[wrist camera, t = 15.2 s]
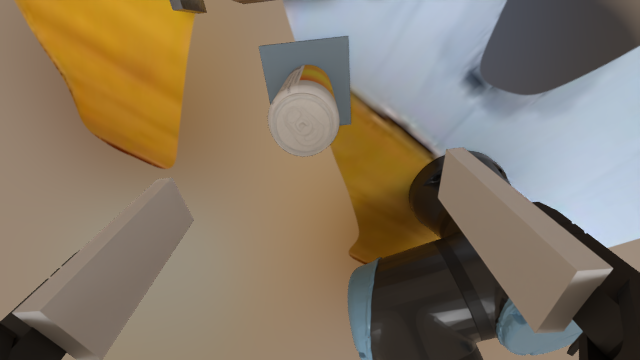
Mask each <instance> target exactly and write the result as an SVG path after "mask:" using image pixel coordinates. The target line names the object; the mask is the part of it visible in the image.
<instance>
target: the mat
mask: <svg viewBox="0 0 640 360" xmlns="http://www.w3.org/2000/svg"><path fill="white" fill-rule="evenodd" d="M259 51H260V55H261V61H262V66H263V70H264V75H265V80H266V85H267V90H268V95H269V100H270V105H271V103H272V101H273V100H274V98H275V97H276V95H277V93H278V92H279V90H280V89H281V87H282V85H283V84H284V82H285V81H286V79H287V78H288V76H289V74H290V73H291V72H292V71H293V70H294V69H296V68H297V67H299V66H302V65H314V66H317V67H319V68H321V69H322V70H323V71H324V72H325V73H326V74H327V75H328V77H329V79H330V82H331V85H332V89H333V93H334V97H335V101H336V105H337V109H338V113H339V120H340V121H339V125H349V124H351V107H350V73H349V39H348V36H344V37H335V38H326V39H317V40H308V41H299V42H290V43H281V44H273V45H263V46H259Z"/></svg>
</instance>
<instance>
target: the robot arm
mask: <svg viewBox="0 0 640 360" xmlns="http://www.w3.org/2000/svg"><path fill="white" fill-rule="evenodd" d="M409 202H410V206H411V208H412V210H413V212H414V214H415V216H416V217H417V219H418V220H419V221H420V222H421V223H422V224H424V225H425V226H427V227H428V228H429V229H430V230H432V231H433V232H434V233H435V234H436V235H437V236H439V237H440V238H441V239H439V240H436V241H432V242H429V243H426V244H423V245H420V246H417V247H414V248H411V249H408V250H405V251H403V252H400V253H397V254H394V255H391V256H388V257H385V258H380V257H379V258H377V259H376V260H375V261H373V262H370V263H368V264H365V265H363V266H360V267H358V268H357V269H356V270H355V271H354V272H353V273H352V275H351V277H350V281H349V286H348V287H349V288H348V312H349V320H350V326H351V331H352V335H353V340H354V343H355V346H356V349H357V351H359V356H360V358H361V360H483V358H482V356H481V353H480V351H479V349H478V347H477V345H476V343H477V342H480V341H483V340H487V339H492V338H498V340H499V342H500V343H501V344H502V345H503V346H505V347H506V348H507V349H508V350H509V351H510V352H512V353H514V354H518V355H526V354H530V355H538V354H544V353H548V352H551V351H554V350H558V349H560V348H563V347H565V346H567V345H570V344H572V345H571V346H570V347H569V350H568V352H567V354H569V355H571V356H573V355H574V354H575V353H576V352H577V350H578V349H579V360H640V272H638V271H637V270H635V269H634V268H633V267H631V266H630V265H629V264H627V263H626V262H624V261H623V260H622V259H621V258H619V257H618V256H617V255H616V254H614V253H613V252H612V251H610V250H609V249H608V248H606V247H605V246H604V245H602V244H601V243H600V242H598V241H597V240H596V239H594V238H593V237H592V236H590V235H589V234H588V233H586V234H585V233H584V230H582V229H581V228H580V227H578V226H577V225H576V224H572V221H570V220H569V219H568V218H566V217H565V216H564V215H562V214H561V213H560V212H558V211H557V210H555V209H553V208H551V207H549V206H546V205H544V204H542V203H540V202H531V201H529V200H528V199H527V198H526V197H524V196H523V195H522V194H521V193H519V192H518V191H517V190H516V189H514V188H513V187H512V186H511V184H510V182H509V181H508V179H507V176H506V174H505V172H504V170H503V169H502V168H501V167H500V166H499V165H498V164H497V163H496V162H495V161H493V160H492V159H491V158H489V157H488V156H486V155H484V154H481V153H478V152H473V151H467V150H466V149H465V148H453V149H446V154H445V156H443V157H440V158H438V159H437V160H435V161H433V162H432V163H430V164H429V165H427V166H426V167H425V168H424V169H423V170H422V171H421V172H420V173H419V174H418V176H417V177H416V178H415V180H414V182H413V184H412V186H411V189H410V193H409ZM193 221H194V220H193V217H192V215H191V213H190V211H189V209H188V207H187V205H186V204H185V201H184V200H183V198H182V196H181V194H180V192H179V190H178V188H177V186H176V184H175V182H174V180H173V178H162V179H157V180H156V181H155V182H154V183H153V184H151V186H149V187H148V188H147V189H146V190H145V191H144V192H143V193H142V194H141V195H139V196H138V197H137V198H136V199H135V200H134V201H133V202H132V203H131V204H130V205H129V206H128V207H126V208H125V209H124V210H123V211H122V212H121V213H120V214H119V215H118V216H117V217H116V218H114V219H113V220H112V221H111V222H110V223H109V224H108V225H107V226H106V227H105V228H104V229H103V230H102V231H100V232H99V233H98V234H97V235H96V236H95V237H94V238H93V239H92V240H91V241H90V242H88V243H87V244H86V245H85V246H84V247H83V248H82V249H81V250H79V251H78V252H77V253H75V254H74V255H73V256H72V257H71V258H69V259H68V260H67V261H66V262H65V263H64V264H63V265H62V267H61V268H59V269H57V270H56V271H55V272H54V273H53V274H52V275H51V277H50V278H49V279H47V280H45V282H43V283H42V284H41V285H40V286H39V287H38V288H37V289H36V290H34V291H33V293H31V294H30V295H29V296H28V297H27V298H26V299H25V300H24V301H22V302H21V303H20V304H19V305H18V306H17V307H16V308H15V309H14V310H13V311H12V312H10V313H9V314H8V315H7V316H6V317H5V318H4V319H3V320H2V321H0V360H61V359H62V358H63V356H64V355H65V354H66V353H68V354H69V355H71V356H72V357H74V358H75V359H76V360H102V359H103V358H104V356H105V355H106V353H107V352H108V350H109V349H110V347H111V346H112V344H113V343H114V341H115V340H116V338H117V337H118V335H119V334H120V332H121V330H122V329H123V327H124V326H125V324H126V323H127V321H128V320H129V318H130V317H131V315H132V314H133V312H134V311H135V309H136V308H137V306H138V305H139V303H140V302H141V300H142V299H143V297H144V295H145V294H146V292H147V291H148V289H149V288H150V286H151V285H152V283H153V282H154V280H155V279H156V277H157V276H158V274H159V273H160V271H161V269H162V268H163V266H164V265H165V263H166V262H167V260H168V259H169V257H170V256H171V254H172V253H173V251H174V250H175V248H176V247H177V245H178V244H179V242H180V241H181V239H182V238H183V236H184V235H185V233H186V232H187V230H188V228H189V227H190V225H191V224H192V222H193Z"/></svg>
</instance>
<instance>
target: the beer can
mask: <svg viewBox="0 0 640 360" xmlns="http://www.w3.org/2000/svg"><path fill="white" fill-rule="evenodd" d="M339 121H340V120H339V113H338V109H337V105H336V101H335V97H334V93H333V89H332V85H331V82H330V79H329V77H328V75H327V74H326V73H325V72H324V71H323V70H322V69H321V68H319V67H317V66H314V65H302V66H299V67H297V68H296V69H294V70H293V71H292V72H291V73H290V74H289V76H288V78H287V79H286V81H285V82H284V84H283V85H282V87H281V89H280V90H279V92H278V93H277V95H276V97H275V98H274V100H273V101H272V103H271V105H270V108H269V111H268V126H269V130H270V133H271V135H272V137H273V138H274V140H275V141H276V143H277V144H278V145H279V146H280V147H281V148H282V149H283V150H285V151H286V152H288V153H290V154H293V155H296V156H303V157H305V156H312V155H315V154H318V153H320V152H322V151H323V150H324V149H325V148H327V147H328V146H329V145H330V144H331V143H332V142H333V140H334V139H335V137H336V135H337V133H338V129H339Z"/></svg>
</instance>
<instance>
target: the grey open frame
mask: <svg viewBox="0 0 640 360" xmlns="http://www.w3.org/2000/svg"><path fill="white" fill-rule="evenodd" d="M170 3H171V6H172V9H173V10H175V11H183V12H191V13H206V8H205V5H204V1H203V0H170Z"/></svg>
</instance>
